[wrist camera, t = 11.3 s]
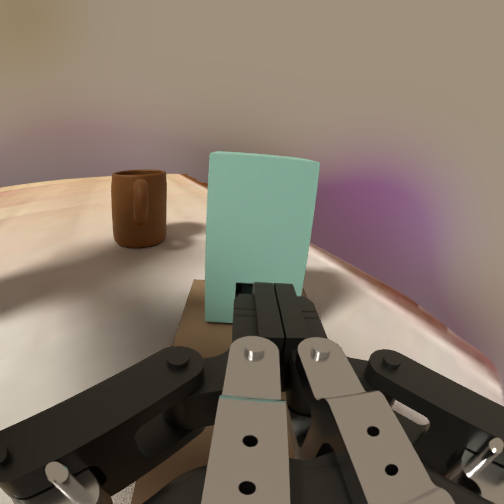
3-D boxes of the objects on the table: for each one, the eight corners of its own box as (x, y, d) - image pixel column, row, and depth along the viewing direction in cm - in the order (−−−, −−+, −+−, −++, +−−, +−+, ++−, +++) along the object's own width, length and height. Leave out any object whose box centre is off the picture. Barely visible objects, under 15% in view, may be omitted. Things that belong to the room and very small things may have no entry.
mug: (175, 260, 33) (176, 178, 30) (111, 265, 30) (106, 181, 27) (163, 230, 44) (163, 168, 40) (114, 233, 41) (112, 170, 37)
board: (387, 597, 3) (401, 594, 3) (123, 606, 3) (114, 606, 2) (300, 296, 27) (302, 285, 27) (194, 290, 27) (193, 279, 27)
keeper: (295, 325, 20) (319, 162, 16) (204, 321, 20) (209, 153, 16) (286, 292, 25) (303, 158, 21) (211, 288, 25) (217, 151, 21)
